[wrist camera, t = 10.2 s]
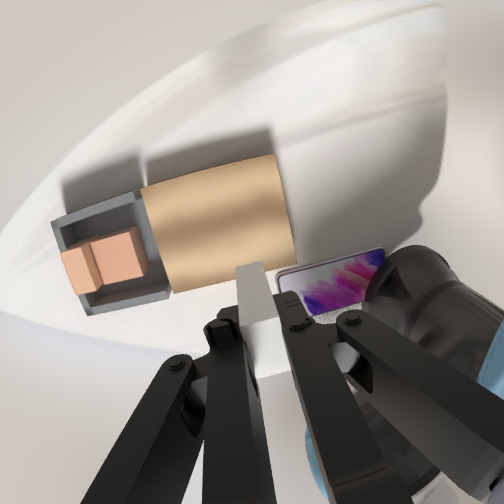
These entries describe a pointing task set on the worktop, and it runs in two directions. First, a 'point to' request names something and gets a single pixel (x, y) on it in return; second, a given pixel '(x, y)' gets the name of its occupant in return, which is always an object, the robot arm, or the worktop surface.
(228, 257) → the board
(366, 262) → the smartphone
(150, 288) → the tray
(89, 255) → the tile
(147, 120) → the worktop surface
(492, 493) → the robot arm
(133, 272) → the tile
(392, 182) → the worktop surface
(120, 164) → the worktop surface
